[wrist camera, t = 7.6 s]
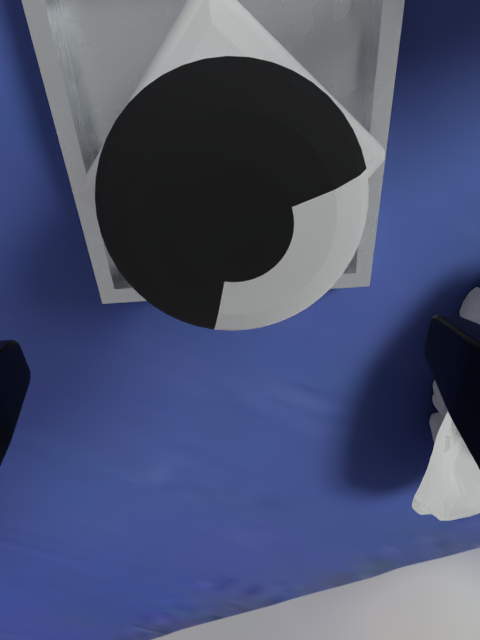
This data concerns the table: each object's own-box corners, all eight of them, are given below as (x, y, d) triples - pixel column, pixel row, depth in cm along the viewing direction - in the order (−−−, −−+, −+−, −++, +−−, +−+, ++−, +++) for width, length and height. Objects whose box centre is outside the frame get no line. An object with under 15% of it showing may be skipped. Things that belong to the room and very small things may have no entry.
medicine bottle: (120, 157, 19) (-3, 257, 9) (211, 6, 16) (190, -114, 6) (240, 246, 21) (256, 406, 11) (337, 128, 18) (480, 196, 8)
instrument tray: (395, -64, 15) (414, -80, 14) (359, 271, 23) (369, 286, 21) (28, -41, 15) (7, -53, 14) (110, 288, 23) (102, 303, 21)
